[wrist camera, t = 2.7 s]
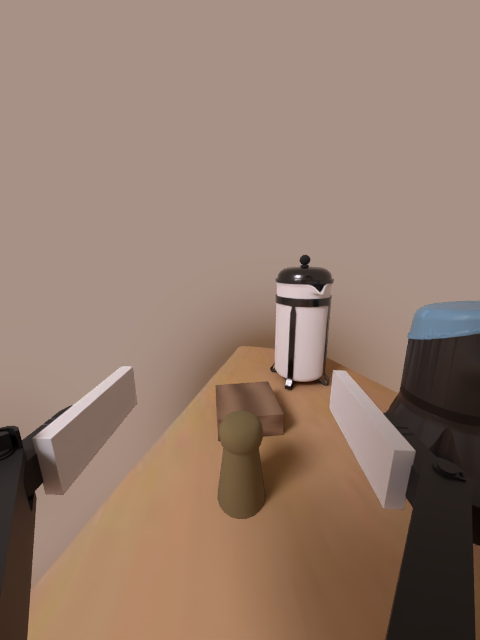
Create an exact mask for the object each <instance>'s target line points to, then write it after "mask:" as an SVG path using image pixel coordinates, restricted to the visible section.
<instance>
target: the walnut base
mask: <svg viewBox="0 0 480 640" xmlns="http://www.w3.org/2000/svg"><path fill="white" fill-rule="evenodd" d="M216 406H217V423H218V441H220V438H219V427H220V424H221V422H222V420H223V419H224V417H225V416H226V415H227V414H229V413H231V412H235V411H248V412H251V413H253V414H254V415H256V416H257V417H258V419H259V420H260V422H261V423H262V427H263V436H273V435H283V429H284V413H283V411H282V409H281V407H280V405H279V403H278V401H277V399H276V397H275V395H274V393H273V391H272V389H271V387H270V385H269V383H268V382H255V383H241V384H227V385H216Z"/></svg>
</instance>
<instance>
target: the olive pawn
mask: <svg viewBox="0 0 480 640" xmlns="http://www.w3.org/2000/svg"><path fill="white" fill-rule="evenodd" d="M219 438H220V441H221V444H222V446H223V447H224V448H223V456H222V464H221V472H220V480H219V488H218V501H219V505H220V507H221V508H222V510H223V511H224V512H225V513H226V514H228V515H229V516H231V517H234V518H237V519H247V518H249V517H252V516H254V515H255V514H256V513H258V512H259V511H260V510H261V508H262V506H263V505H264V501H265V491H264V484H263V476H262V469H261V462H260V454H259V446H260V445H261V442H262V438H263V427H262V423H261V422H260V420H259V419H258V417H257V416H256V415H254V414H253V413H251V412H248V411H235V412H231V413H229V414H227V415H226V416H225V417H224V419H223V420H222V422H221V424H220V427H219Z"/></svg>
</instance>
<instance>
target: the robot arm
mask: <svg viewBox="0 0 480 640" xmlns="http://www.w3.org/2000/svg"><path fill="white" fill-rule="evenodd" d="M408 338H409V339H408V346H407V351H406V358H405V363H404V369H403V375H402V382H401V387H400V391H399V394H398V395H397V397H396V398H395V400H394V401H393V403H392V404H391V406H390V408H389V410H388V411H387V412H386V413H382V412H381V411H380V410H379V408H378V407H377V406H376V405H375V404H374V403H373V402H372V400H371V399H370V398H369V397H368V396H367V395H366V394H365V392H364V391H363V390H362V389H361V388H360V387H359V386H358V384H357V383H356V382H355V381H354V380H353V379H352V378H351V377H350V375H349V374H348V373H347V372H346V371H339V370H333V377H332V387H331V397H330V407H329V409H330V410H331V412H332V414H333V416H334V418H335V420H336V422H337V423H338V425H339V427H340V429H341V431H342V433H343V435H344V436H345V438H346V440H347V442H348V444H349V446H350V447H351V449H352V451H353V453H354V455H355V457H356V459H357V460H358V462H359V464H360V466H361V468H362V470H363V472H364V473H365V475H366V477H367V479H368V481H369V483H370V485H371V486H372V488H373V490H374V492H375V494H376V496H377V497H378V499H379V501H380V503H381V505H382V507H383V509H400V510H404V505H405V500H406V498H407V499H408V501H409V502H410V504H411V505H412V507H413V511H412V515H411V520H410V524H409V529H408V534H407V539H406V544H405V549H404V553H403V558H402V563H401V568H400V572H399V577H398V582H397V587H396V592H395V596H394V601H393V606H392V611H391V615H390V620H389V625H388V630H387V634H386V639H385V640H476V638H475V603H474V568H473V543H474V544H476V545H479V546H480V301H456V302H443V303H435V304H430V305H426V306H423V307H421V308H420V309H418V310H417V311H416V313H415V314H414V318H413V321H412V326H411V329H410V332H409V333H408ZM136 404H137V398H136V389H135V381H134V372H133V367H126V366H122V367H120V368H119V369H118V370H117V371H115V372H114V373H113V374H112V375H110V376H109V377H108V378H107V379H105V380H104V381H103V382H102V383H100V384H99V385H98V386H97V387H95V388H94V389H93V390H92V391H90V392H89V393H88V394H87V395H85V396H84V397H83V398H82V399H80V400H79V401H78V402H77V403H75V404H74V405H71V406H69V407H67V408H65V409H63V410H61V411H59V412H58V413H57V414H56V415H54V416H53V417H52V418H51V419H49V420H48V421H46V422H45V423H44V425H41V426H40V427H39V428H37V429H36V430H35V431H34V432H32V433H31V434H30V435H28V436H27V437H26V438H25V439H23V440H21V436H20V432H19V429H18V427H16V426H7V427H2V428H0V640H27V634H28V619H29V604H30V589H31V574H32V573H31V572H32V559H33V544H34V528H35V513H36V494H35V490H36V489H37V488H38V487H39V486H40V485H41V484H42V483H43V485H44V489H45V493H46V494H54V495H64V493H65V492H66V491H67V490H68V488H69V487H70V486H71V485H72V483H73V482H74V481H75V480H76V478H77V477H78V476H79V475H80V474H81V472H82V471H83V470H84V469H85V467H86V466H87V465H88V464H89V462H90V461H91V460H92V459H93V457H94V456H95V455H96V454H97V452H98V451H99V450H100V449H101V448H102V446H103V445H104V444H105V443H106V441H107V440H108V439H109V438H110V436H111V435H112V434H113V433H114V431H115V430H116V429H117V428H118V426H119V425H120V424H121V422H122V421H123V420H124V419H125V418H126V417H127V415H128V414H129V413H130V411H131V410H132V409H133V408H134V407H135V405H136Z"/></svg>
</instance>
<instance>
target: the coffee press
mask: <svg viewBox="0 0 480 640" xmlns="http://www.w3.org/2000/svg"><path fill="white" fill-rule="evenodd" d="M300 262H301V264H303V265H301V267H290V268H286V269H283V270H282V271H280V273H279V274H278V278H276V283H277V294H276V303H277V306H276V337H275V338H276V339H275V362H274V364H273V366H274V365H275V369H276V370H274V369H273V366H272V367H271V368H270V370H271V371H272V372H275V371H277V373H278V374H279V375H281V376H282V377H284V378H286V379H287V380H286V384H285V389H289V390H292V387H293V384H294V382H295V381H298V382H309V381H314V380H316V379H318V380H319V381H320V382H321V383H322V384H323V385H328V383H329V378H328V377H327V375H326V373H325V365H326V353H327V342H328V330H329V319H330V305H331V285H332V284H333V282H334V279H332V276H331V273H330V272H329V271H328V270H326V269H324V268H320V267H309V266H308V265H307V264H308V263H309V262H310V257H309V256H307V255H303V256H302V257H301V258H300ZM322 374H324V377H325V379H326V380H327V383H326V382H324V381H323V380H322V379H321V378H320V377H321V376H322Z"/></svg>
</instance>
